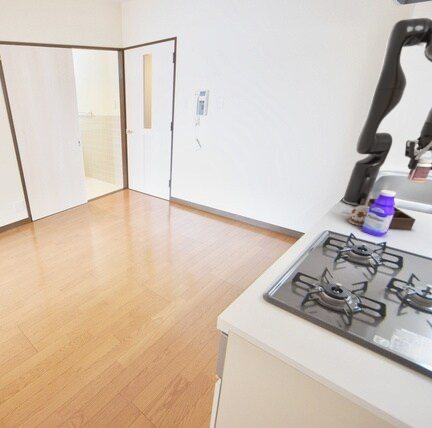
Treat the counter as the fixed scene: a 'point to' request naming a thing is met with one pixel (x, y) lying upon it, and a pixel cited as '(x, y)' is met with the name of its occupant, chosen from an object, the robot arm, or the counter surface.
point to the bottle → (380, 214)
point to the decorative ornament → (360, 212)
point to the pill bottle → (420, 170)
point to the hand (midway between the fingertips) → (420, 169)
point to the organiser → (395, 217)
